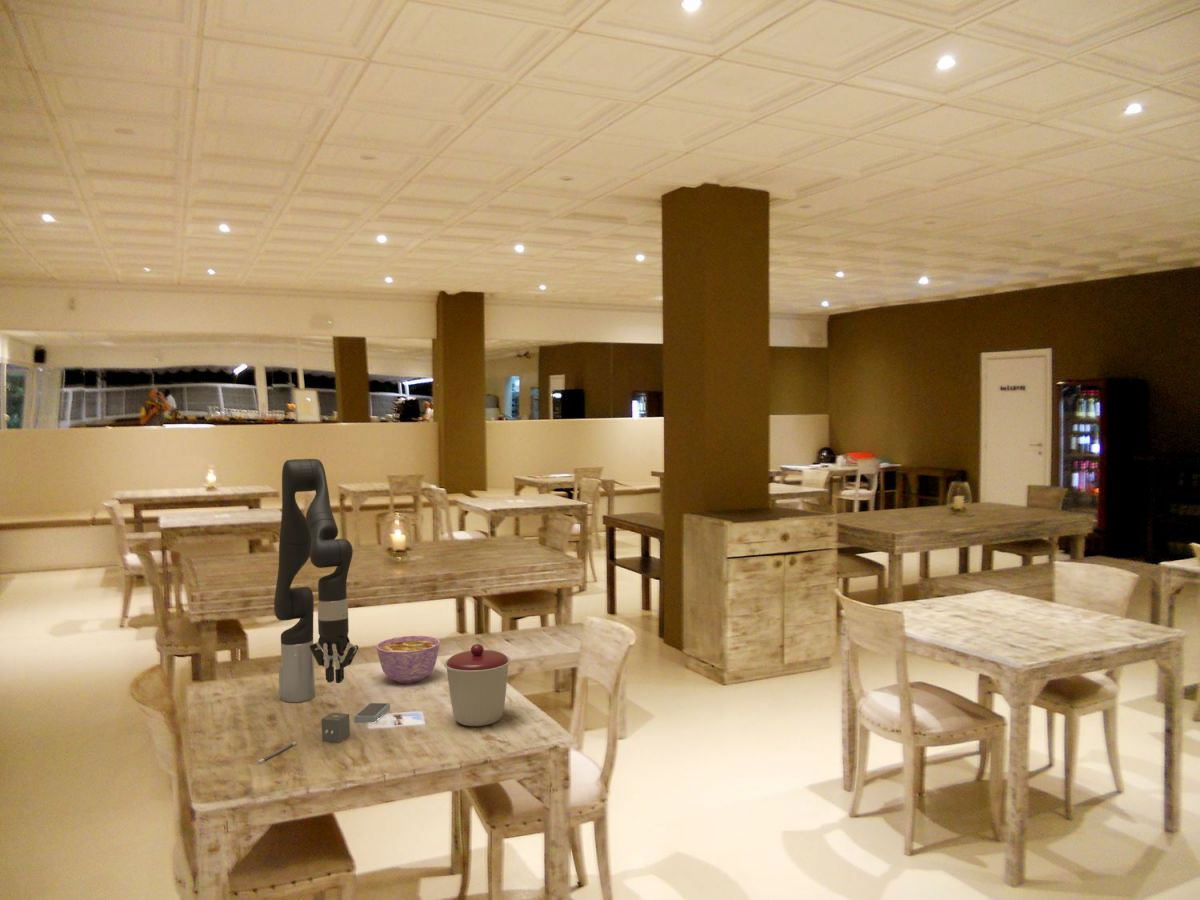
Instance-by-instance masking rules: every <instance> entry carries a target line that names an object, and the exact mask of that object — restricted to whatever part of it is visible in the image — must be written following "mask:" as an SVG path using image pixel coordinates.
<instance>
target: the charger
mask: <svg viewBox="0 0 1200 900" xmlns="http://www.w3.org/2000/svg"><path fill="white" fill-rule="evenodd" d="M350 728H351V726H350V713H343V712H342V713H341V712H331V713H329V714H328V715H326V716H324V717H322V718H321V740H322V743H333V744H341V743H342V742H344V741H345V740H347V739H348V738H349V736H350V737H351V729H350ZM346 738H347V739H346ZM343 740H344V741H343ZM340 742H341V743H340Z"/></svg>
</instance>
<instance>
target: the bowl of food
mask: <svg viewBox="0 0 1200 900" xmlns="http://www.w3.org/2000/svg"><path fill="white" fill-rule="evenodd" d="M440 640H441V639H438V638H436V637H432V636H426V635H407V636H405V635H403V636H398V637H393V638H388V639H385V640H381V641H380V642H378V643H377V644H376V652H377V655H378V659H379V662H380V666H381V669H382V671H383V673H384V675H385V676H386V677H388V678H390V680H391V679H392V680H394V681H395V682H397V683H400V684H411V683H412V682H413V683H416V681H417V682H420V681H422V680H423V679H424V678H426V677H428V676H429V675H430V674H431V673H432V672H433V671H434V669H435V666H436V663H437V659H438V655H439V649H440V644H441V641H440ZM419 680H420V681H419Z"/></svg>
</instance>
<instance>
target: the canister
mask: <svg viewBox="0 0 1200 900" xmlns="http://www.w3.org/2000/svg"><path fill="white" fill-rule="evenodd" d="M511 661H512V660H511V658H510V657H509V656H508V655H506V654H504V653H503V652H500V651H496V650H491V649H484V645H482V644H478V643H475V644H473V645H472V646H471V647H470V650H468V651H462V652H458V653H456V654H454V655H452V656H450V657H449V658H447V659H446V660H445V661H444V662H443V666H444V667H445V669H446V672H447V681H448V688H449V695H450V702H451V709H452V715H453V717H454V719H455V720H456V722H458V724H461V725H462V726H463V725H464V726H467V727H485V726H489V725H492V724H495V723H497V722H499V720H500V719H501V718H502V716H503V715H504V711H505V705H506V703H505V702H506V698H507V697H506V696H507V685H508V674H509V673H508V672H509V669H508V668H509V665H510V663H511Z"/></svg>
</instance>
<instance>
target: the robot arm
mask: <svg viewBox="0 0 1200 900" xmlns="http://www.w3.org/2000/svg"><path fill="white" fill-rule="evenodd" d="M325 470H326V469H325V467H324V464H323V463H322V461H321V460H320V459H317V458H299V459H298V458H297V459H287V460H285V461H284V463H283V466H282V470H281V497H282V499H281V519H280V520H281V521H280V530H279V532H280V533H279V544H278V567H277V569H278V571H277V577H276V584H275V585H276V587H275V592H274V599H273V602H274V603H273V610H274V615H275V617H276V619H277V620H279V621H291V620H298V619H299V620H298V621H297V622H296V624H294V625H293V626H292V627H290V628H287V629H285V630H284V631H282V632H281V633H280V651H281V652H280V653H281V655H280V657H281V666H280V667H279V668H278V686H279V687H278V689H279V693H278V694H279V700H280V699H283V700H284V701H283V700H282V701H283V702H285V701H287V702H286V703H300V702H302V703H303V702H306V701H308V700H309V699H310V700H312V699H314V698H315V697H316V686H315V682H316V681H315V660H316V663H317V665H318V666H321V667H324V669H325V671H324V672H325V680H326V682H327V683H329V684H331V683H332V682H334V681H335V683H336V684H340V683H342V682H343V681H344V679H345V668H347V667H348V666H350V665H352V662H353V660H354V657H355V656H356V653H357V652H358V650H359V645H358V644H353V643H351V641H350V638H349V633H350V632H349V605H348V604H349V603H348V597H347V594H348V592H347V583H348V582H347V580H348V575H349V570H350V567H351V562H352V559H353V552H354V551H353V549H354V548H353V546H352V543H351V541H349V539H346V538H337V537H338V535H339V529H338V526H337V523H336V519H335V517H334V515H333V511H332V507H331V501H330V494H329V492H330V491H329V486H328V480H327V476H326V471H325ZM299 492H301V493H302V492H315V495H314V498H313V500H312V501H311V503H310V504H309V506H308V508H307V510H306V514H305V515H304V513H303V512H302V510H301V508H300V506H299V505H298V503H297V501H296V493H299ZM308 560H310V562H311V564H312V565H313V566H314V567H316V568H319V569H324V568H325V569H326V568H333V567H336V568H335V569H334V572H332V573H330V574H328V575H327V574H326V575H325V576H322V577H320V578H319V579H318V582H317V593H318V594H317V596H318V597H317V598H318V602H317V603H318V604H317V625H318V629H317V631H318V635H319V636H318V640H317V642H315V643H314V612H315V611H314V610H315V609H314V608H315V605H314V604H315V601H314V594H313V591H312V589H311V588H310V586H301V587H300V586H299V587H292V583H293V581H294V579H295V577H296V576H297V574H298V573H299V572H300V570H301V569H302V568H303V567H304V566H305V564H306V563H307V561H308ZM291 587H292V588H291ZM346 652H347V653H346ZM334 664H335V666H334ZM314 696H315V697H314ZM313 697H314V698H313Z"/></svg>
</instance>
